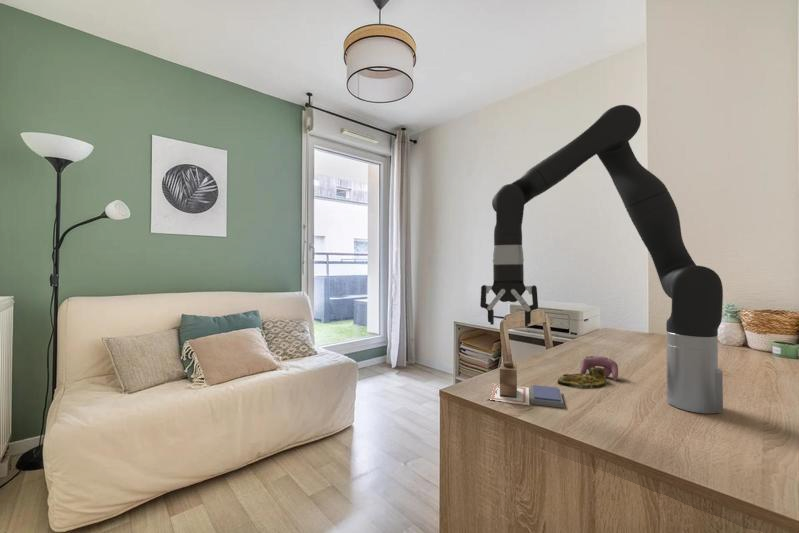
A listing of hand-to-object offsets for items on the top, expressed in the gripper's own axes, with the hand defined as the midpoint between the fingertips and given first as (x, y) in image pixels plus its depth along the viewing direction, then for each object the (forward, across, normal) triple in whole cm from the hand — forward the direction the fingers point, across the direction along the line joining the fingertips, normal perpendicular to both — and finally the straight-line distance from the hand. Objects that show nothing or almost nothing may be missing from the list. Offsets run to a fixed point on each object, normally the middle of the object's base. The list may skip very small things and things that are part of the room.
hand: (508, 325), depth 89 cm
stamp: (+18, 0, 0) cm, 18 cm away
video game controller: (+18, -25, -24) cm, 39 cm away
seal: (+19, -19, -16) cm, 31 cm away
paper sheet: (+18, 0, 0) cm, 18 cm away
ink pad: (+18, -9, 0) cm, 20 cm away
